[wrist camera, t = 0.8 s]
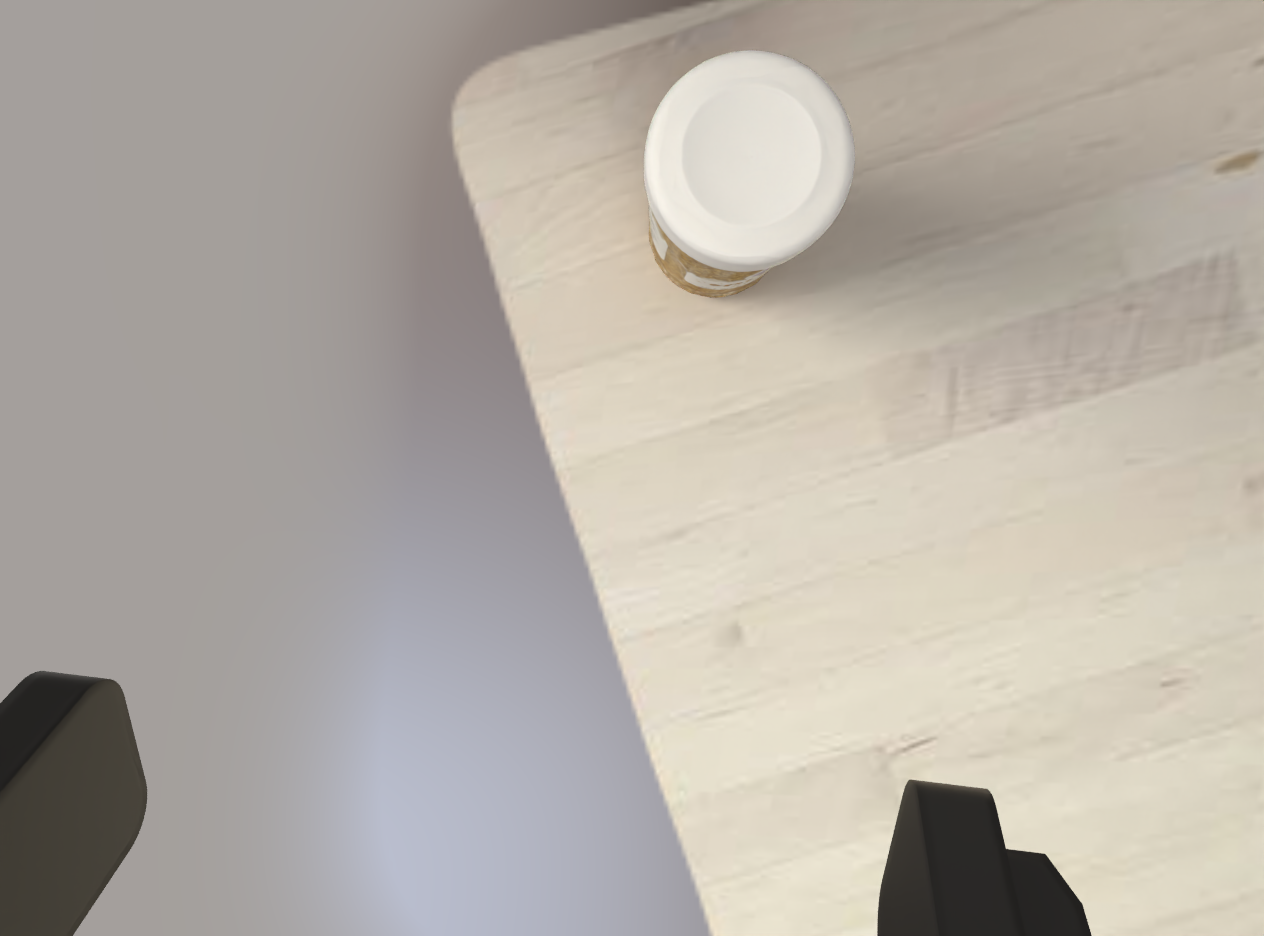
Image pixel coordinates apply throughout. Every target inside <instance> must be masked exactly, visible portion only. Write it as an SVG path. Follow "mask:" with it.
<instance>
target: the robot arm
mask: <svg viewBox="0 0 1264 936" xmlns="http://www.w3.org/2000/svg"><path fill="white" fill-rule="evenodd" d="M146 804H147V786H146V780H145V776H144V772H143V768H142V765H141V760H140V757H139V752H138V749H137V745H136V740H135V736H134V732H133V729H132V725H131V720H130V717H129V713H128V709H127V705H126V701H125V697H124V694H123V691H122V689H121V687H120V685H119V684H118V683H117V682H115V681H114V680H111V679H104V678H96V677H87V676H79V675H71V674H63V673H55V672H46V671H39V672H35V673H33V674H30V675H29V676H27V677H26V678H25V679H23V680H22V681H21V682H20V683H19V684H18V685H17V686H16V687H15V689H14V690H13V691H12V692H11V693H10V694H9V695H8V696H7V697H6V698H5V699H4V700H3V701H2V702H1V703H0V936H73V934H74V933H75V931H76V930H77V928H78V927H79V925H80V924H81V922H82V921H83V919H84V918H85V916H86V915H87V913H88V912H89V910H90V909H91V907H92V906H93V904H94V903H95V901H96V900H97V898H98V897H99V895H100V894H101V893H102V891H103V890H104V888H105V887H106V885H107V884H108V882H109V880H110V879H111V878H112V876H113V874H114V873H115V871H116V870H117V868H118V867H119V865H120V864H121V863H122V861H123V859H124V858H125V857H126V855H127V854H128V852H129V851H130V849H131V847H132V846H133V844H134V842H135V840H136V838H137V836H138V834H139V831H140V829H141V826H142V822H143V819H144V815H145V811H146ZM878 936H1091V932H1090V929H1089V925H1088V922H1087V919H1086V915H1085V912H1084V909H1083V905H1082V903H1081V902H1080V901H1079V899H1078V898H1077V896H1076V895H1075V894H1074V892H1073V891H1072V890H1071V888H1070V887H1069V886H1068V884H1067V883H1066V881H1065V880H1064V879H1063V877H1062V876H1061V875H1060V873H1059V872H1058V871H1057V869H1056V868H1055V867H1054V865H1053V864H1052V862H1051V861H1050V860H1049V858H1048V857H1047V856H1046V854H1041V853H1033V852H1025V851H1017V850H1009V849H1006V848H1005V843H1004V839H1003V835H1002V831H1001V826H1000V822H999V818H998V813H997V809H996V805H995V802H994V799H993V796H992V794H991V793H990V791H989V790H988V789H983V788H974V787H966V786H958V785H950V784H942V783H933V782H925V781H917V780H909V781H908V782H907V784H906V786H905V789H904V793H903V796H902V800H901V805H900V809H899V813H898V817H897V821H896V825H895V830H894V834H893V838H892V842H891V846H890V850H889V854H888V859H887V863H886V867H885V871H884V875H883V879H882V884H881V890H880V897H879V907H878Z"/></svg>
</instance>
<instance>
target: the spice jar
mask: <svg viewBox="0 0 1264 936" xmlns="http://www.w3.org/2000/svg"><path fill="white" fill-rule="evenodd" d="M854 165H855V146H854V139H853V133H852V129H851V125H850V122H849V119H848V117H847V114H846V112H845V109H844V108H843V106H842V104H841V102H840V100H839V98H838V97H837V96H836V94H835V93H834V91H833V90H832V89H831V88H830V86H829V85H828V84H827V83H826V81H825V80H824V79H823V78H822V77H820V76H819V75H818V74H817V73H815V72H814V71H813V70H812V69H810V68H809V67H808V66H806V65H804V64H802V63H801V62H799V61H797V60H795V59H792V58H790V57H787V56H784V55H781V54H777V53H772V52H768V51H759V50H745V51H735V52H731V53H727V54H723V55H719V56H717V57H714V58H711V59H709V60H706V61H705V62H703V63H701V64H699V65H698V66H696V67H694V68H693V69H691V70H690V71H689V72H688V73H686V74H685V75H684V76H683V77H681V78H680V79H679V80H678V81H677V82H676V83H675V84H674V85H673V86H672V87H671V89H670V90H669V91H668V93H667V94H666V96H665V97H664V98H663V100H662V101H661V103H660V105H659V106H658V108H657V110H656V112H655V114H654V116H653V119H652V122H651V124H650V127H649V131H648V135H647V140H646V146H645V152H644V183H645V190H646V194H647V197H648V201H649V218H650V219H649V241H650V245H651V247H652V250H653V253H654V256H655V260H656V262H657V264H658V265H659V267H660V268H661V270H662V271H663V273H664V274H665V275H666V276H667V277H668V278H669V280H671V281H672V282H673V283H674V284H676V285H677V286H679V287H680V288H682V289H684V290H686V291H688V292H690V293H693V294H698V295H701V296H707V297H715V298H717V297H725V296H728V295H733V294H737V293H739V292H741V291H743V290H745V289H747V288H749V287H751V286H753V285H754V284H756V283H757V282H758V281H759V280H760V279H761V277H762V276H763V275H765V274H766V273H767V272H768V270H770V269H771V268H772V267H774V266H777V265H780V264H782V263H784V262H786V261H788V260H790V259H792V258H794V257H795V256H797V255H798V254H800V253H801V252H803V251H804V250H806V249H807V248H808V247H809V246H811V245H812V244H813V243H814V242H815V241H816V240H818V239H819V238H820V237H821V236H822V235H823V234H824V233H825V232H826V230H827V229H828V228H829V227H830V226H831V224H832V223H833V222H834V220H835V219H836V217H837V216H838V214H839V213H840V211H841V209H842V207H843V205H844V203H845V201H846V198H847V195H848V193H849V190H850V186H851V183H852V180H853V173H854Z"/></svg>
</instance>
